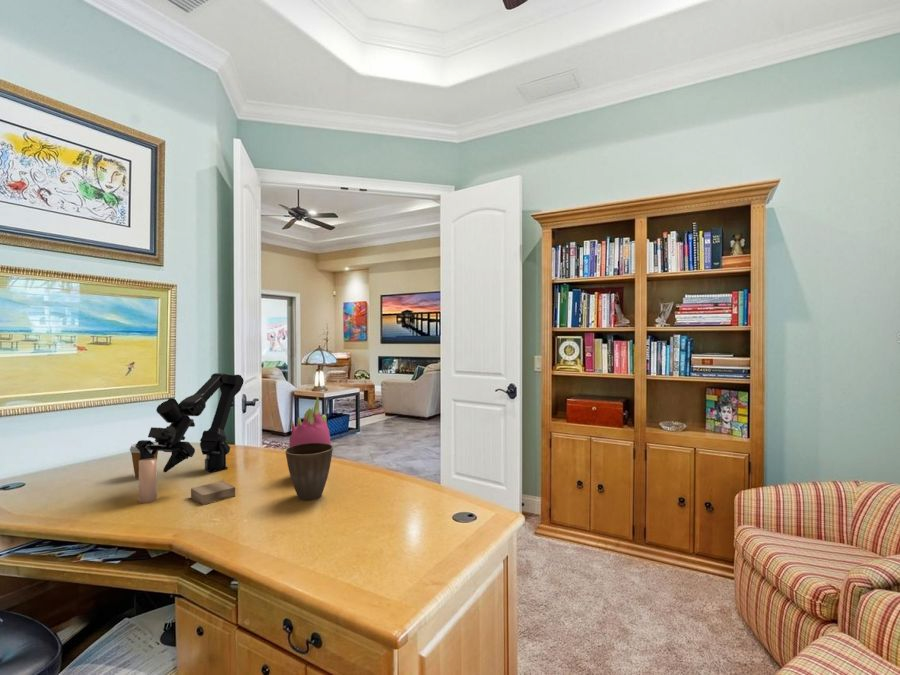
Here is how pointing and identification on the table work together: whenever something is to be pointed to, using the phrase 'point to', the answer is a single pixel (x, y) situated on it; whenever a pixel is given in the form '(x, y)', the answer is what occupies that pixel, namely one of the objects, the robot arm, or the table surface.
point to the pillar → (147, 480)
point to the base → (212, 492)
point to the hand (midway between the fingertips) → (151, 471)
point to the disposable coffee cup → (138, 458)
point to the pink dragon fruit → (311, 428)
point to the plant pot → (309, 468)
